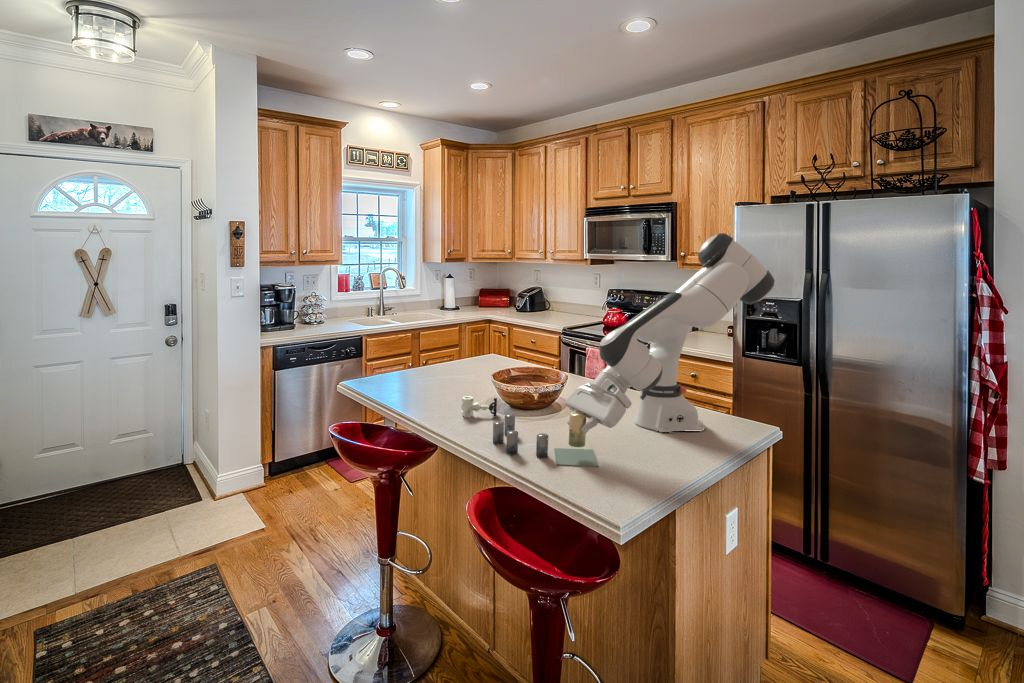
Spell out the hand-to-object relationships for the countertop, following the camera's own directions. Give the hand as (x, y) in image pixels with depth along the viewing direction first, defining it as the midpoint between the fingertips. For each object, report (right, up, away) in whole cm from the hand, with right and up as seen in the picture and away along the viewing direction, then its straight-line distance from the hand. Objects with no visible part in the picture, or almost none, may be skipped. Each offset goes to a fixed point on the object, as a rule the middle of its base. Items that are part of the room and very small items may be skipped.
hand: (575, 428), depth 146 cm
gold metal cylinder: (0, -5, +1) cm, 5 cm away
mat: (0, -8, +2) cm, 9 cm away
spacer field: (-17, -7, +10) cm, 20 cm away
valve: (-29, -2, +38) cm, 48 cm away
